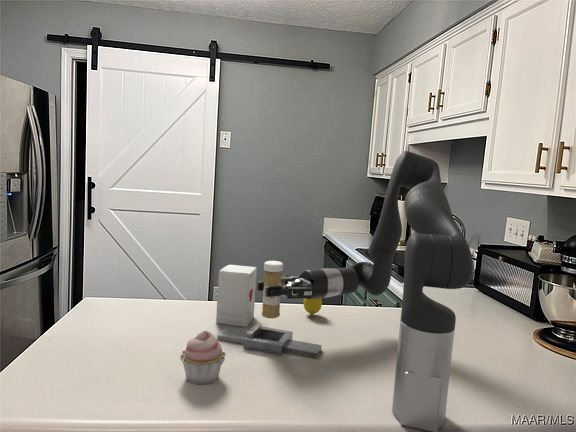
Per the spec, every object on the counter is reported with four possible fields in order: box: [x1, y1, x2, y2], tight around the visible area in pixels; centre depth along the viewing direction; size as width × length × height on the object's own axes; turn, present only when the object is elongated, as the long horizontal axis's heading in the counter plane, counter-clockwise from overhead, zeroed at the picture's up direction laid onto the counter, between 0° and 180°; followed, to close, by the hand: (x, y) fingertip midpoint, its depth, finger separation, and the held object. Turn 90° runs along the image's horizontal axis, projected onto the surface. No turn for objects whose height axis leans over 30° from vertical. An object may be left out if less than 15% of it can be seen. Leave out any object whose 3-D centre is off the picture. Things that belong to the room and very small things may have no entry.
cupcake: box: [179, 330, 227, 385], centre depth 84 cm, size 9×9×10 cm
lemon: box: [303, 298, 323, 316], centre depth 125 cm, size 6×6×8 cm
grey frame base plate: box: [216, 323, 322, 359], centre depth 102 cm, size 10×26×3 cm, turn 74°
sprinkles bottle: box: [261, 260, 284, 319], centre depth 101 cm, size 5×5×14 cm
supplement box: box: [215, 264, 258, 328], centre depth 117 cm, size 9×9×15 cm
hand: (262, 289), depth 100 cm, fingers closed on sprinkles bottle, 4 cm apart
